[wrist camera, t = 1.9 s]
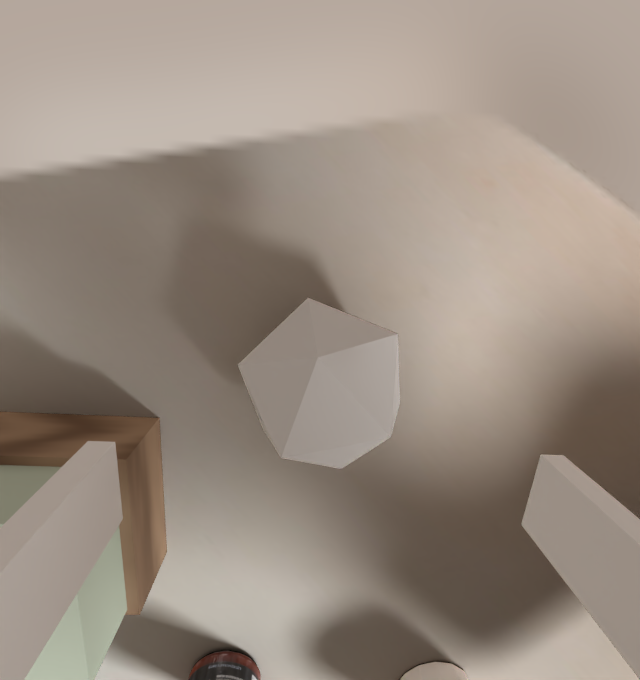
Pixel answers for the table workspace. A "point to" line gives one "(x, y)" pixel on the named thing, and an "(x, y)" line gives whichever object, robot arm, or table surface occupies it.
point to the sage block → (88, 605)
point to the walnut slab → (134, 478)
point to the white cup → (435, 672)
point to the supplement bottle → (225, 667)
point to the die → (324, 385)
